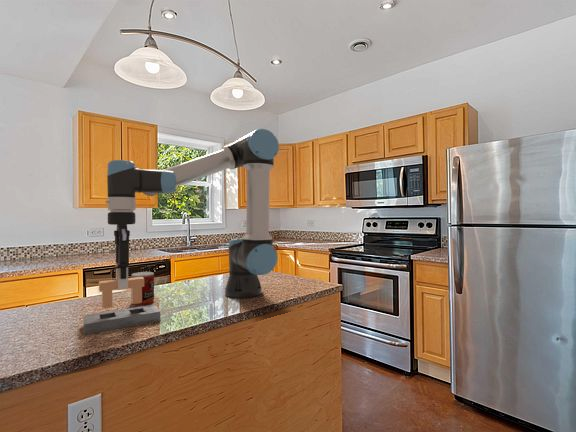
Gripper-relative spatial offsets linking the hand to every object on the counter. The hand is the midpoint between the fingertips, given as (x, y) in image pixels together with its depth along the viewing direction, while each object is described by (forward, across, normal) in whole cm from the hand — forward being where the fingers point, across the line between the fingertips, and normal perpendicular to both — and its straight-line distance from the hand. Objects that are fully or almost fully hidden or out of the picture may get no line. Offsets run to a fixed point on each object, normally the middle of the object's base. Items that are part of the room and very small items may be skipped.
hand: (122, 287), depth 96 cm
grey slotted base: (+11, 0, 0) cm, 11 cm away
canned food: (+11, -21, +9) cm, 25 cm away
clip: (+5, 0, 0) cm, 5 cm away
